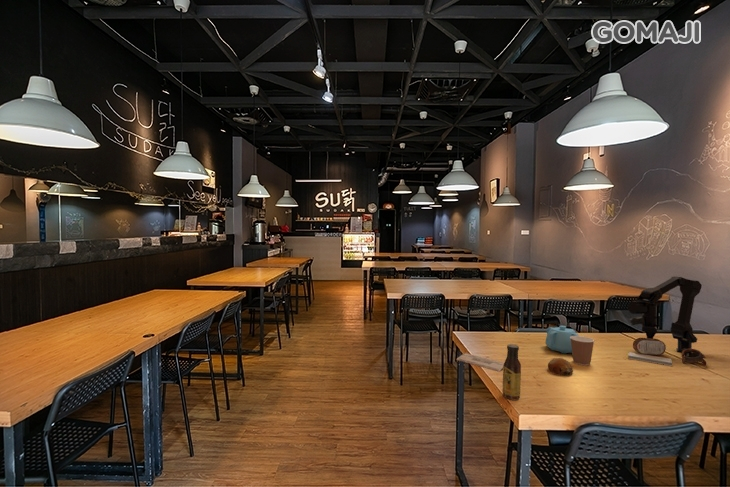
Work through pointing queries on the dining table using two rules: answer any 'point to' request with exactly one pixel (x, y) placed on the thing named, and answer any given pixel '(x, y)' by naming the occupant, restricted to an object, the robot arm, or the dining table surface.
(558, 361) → the bread roll
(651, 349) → the tin
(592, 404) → the dining table surface
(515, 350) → the sauce bottle
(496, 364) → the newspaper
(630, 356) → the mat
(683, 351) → the pottery mug
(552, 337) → the decorative pot
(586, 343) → the coffee cup
